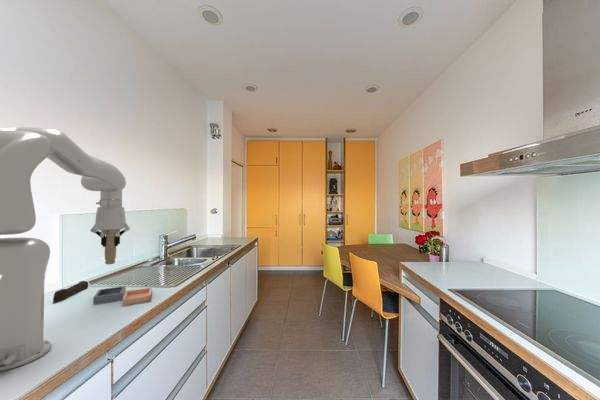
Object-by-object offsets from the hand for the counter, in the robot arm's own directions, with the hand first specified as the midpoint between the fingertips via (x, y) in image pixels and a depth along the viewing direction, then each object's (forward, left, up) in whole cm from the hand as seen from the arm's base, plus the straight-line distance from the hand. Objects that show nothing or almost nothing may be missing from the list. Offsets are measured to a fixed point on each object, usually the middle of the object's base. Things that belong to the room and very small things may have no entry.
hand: (110, 245), depth 106 cm
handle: (0, 0, -8) cm, 8 cm away
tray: (-7, -11, -23) cm, 26 cm away
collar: (0, 0, -23) cm, 23 cm away
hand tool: (+13, +16, -23) cm, 31 cm away
